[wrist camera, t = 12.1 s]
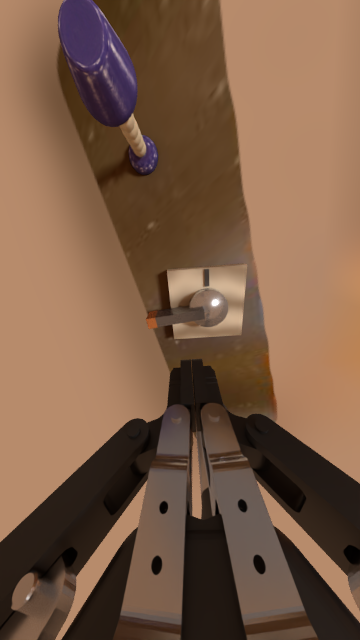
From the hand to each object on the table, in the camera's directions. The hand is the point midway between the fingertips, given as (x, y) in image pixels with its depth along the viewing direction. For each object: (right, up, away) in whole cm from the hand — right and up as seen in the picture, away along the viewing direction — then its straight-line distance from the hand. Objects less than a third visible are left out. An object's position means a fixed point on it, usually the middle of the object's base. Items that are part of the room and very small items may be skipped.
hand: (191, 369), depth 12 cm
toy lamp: (-6, +27, +13) cm, 31 cm away
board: (+4, +7, +22) cm, 24 cm away
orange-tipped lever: (+1, +6, +20) cm, 21 cm away
